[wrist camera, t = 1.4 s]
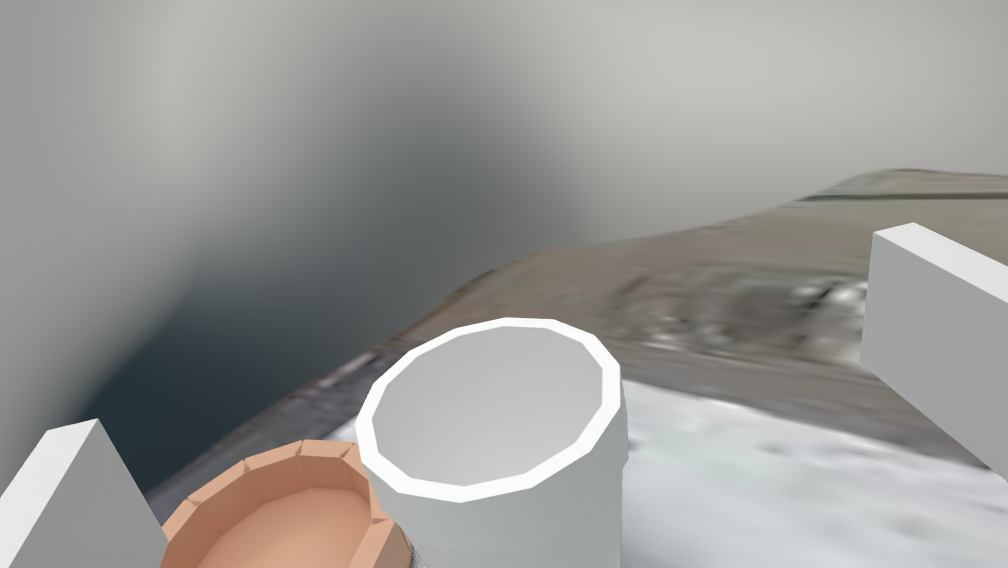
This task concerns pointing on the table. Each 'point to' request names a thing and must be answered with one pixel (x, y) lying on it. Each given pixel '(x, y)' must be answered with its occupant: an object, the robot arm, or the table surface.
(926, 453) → the table surface
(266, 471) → the bowl
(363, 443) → the foam cup
